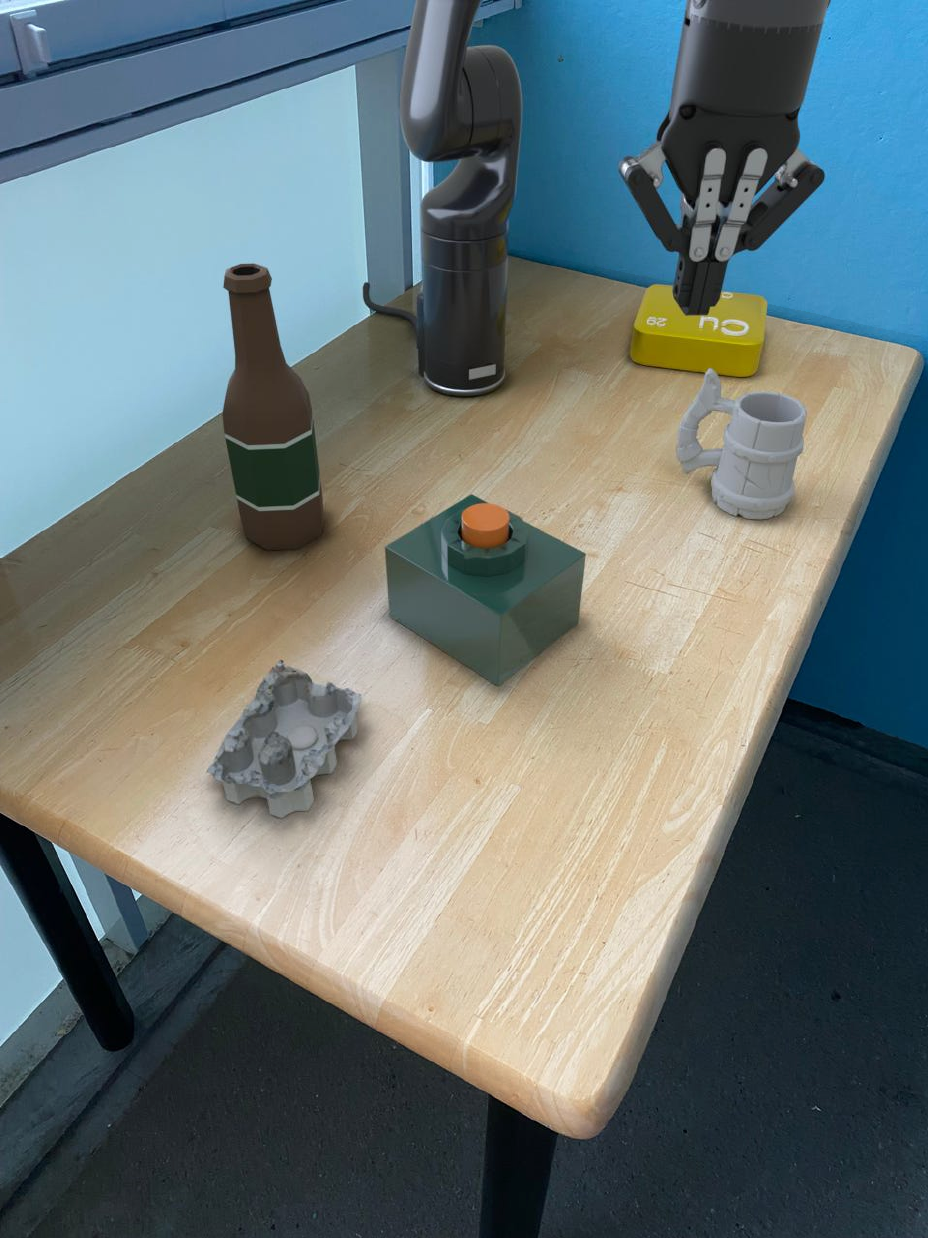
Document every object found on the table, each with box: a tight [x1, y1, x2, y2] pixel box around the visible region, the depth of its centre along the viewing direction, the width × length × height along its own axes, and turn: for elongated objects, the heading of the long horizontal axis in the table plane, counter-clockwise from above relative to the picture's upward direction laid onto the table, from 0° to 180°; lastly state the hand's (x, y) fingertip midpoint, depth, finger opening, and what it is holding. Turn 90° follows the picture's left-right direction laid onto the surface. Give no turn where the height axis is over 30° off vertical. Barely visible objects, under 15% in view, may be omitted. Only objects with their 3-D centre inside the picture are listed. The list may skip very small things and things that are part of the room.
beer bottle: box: [221, 263, 324, 551], centre depth 78 cm, size 8×8×24 cm
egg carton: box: [205, 659, 362, 819], centre depth 64 cm, size 11×8×4 cm
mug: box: [675, 368, 808, 520], centre depth 87 cm, size 8×12×12 cm, turn 62°
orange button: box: [462, 502, 510, 548], centre depth 70 cm, size 4×4×2 cm
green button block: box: [384, 493, 587, 687], centre depth 74 cm, size 12×10×9 cm
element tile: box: [629, 283, 768, 378], centre depth 113 cm, size 15×15×5 cm
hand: (692, 310), depth 63 cm, fingers closed
